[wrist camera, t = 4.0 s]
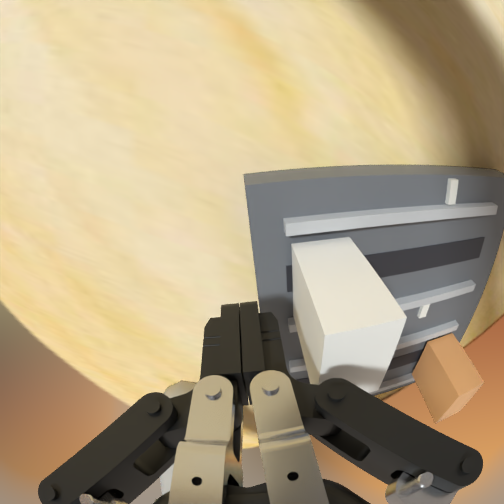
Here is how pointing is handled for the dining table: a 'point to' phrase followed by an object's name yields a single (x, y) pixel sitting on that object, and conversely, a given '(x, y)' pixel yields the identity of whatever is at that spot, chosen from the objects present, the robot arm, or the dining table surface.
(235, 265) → the dining table surface
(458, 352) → the block
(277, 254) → the console
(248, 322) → the robot arm
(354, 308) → the fader
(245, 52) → the dining table surface
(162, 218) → the dining table surface
